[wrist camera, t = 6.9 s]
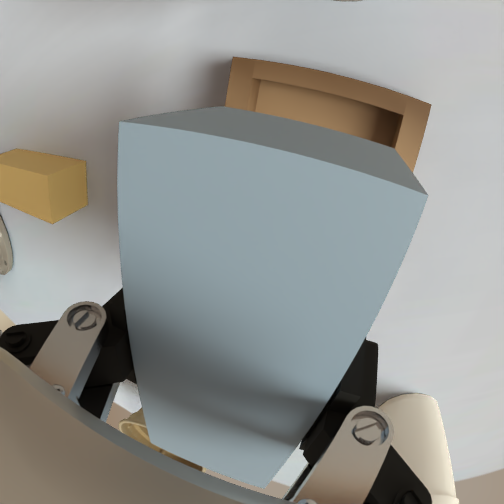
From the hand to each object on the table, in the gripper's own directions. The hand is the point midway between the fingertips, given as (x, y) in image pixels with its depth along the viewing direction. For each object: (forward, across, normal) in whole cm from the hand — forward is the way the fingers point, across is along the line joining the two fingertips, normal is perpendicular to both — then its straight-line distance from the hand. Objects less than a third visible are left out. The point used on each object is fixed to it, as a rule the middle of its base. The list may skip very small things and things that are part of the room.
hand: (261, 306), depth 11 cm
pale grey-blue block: (+1, 0, 0) cm, 1 cm away
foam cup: (+10, -15, +16) cm, 24 cm away
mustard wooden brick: (+10, +24, +3) cm, 26 cm away
